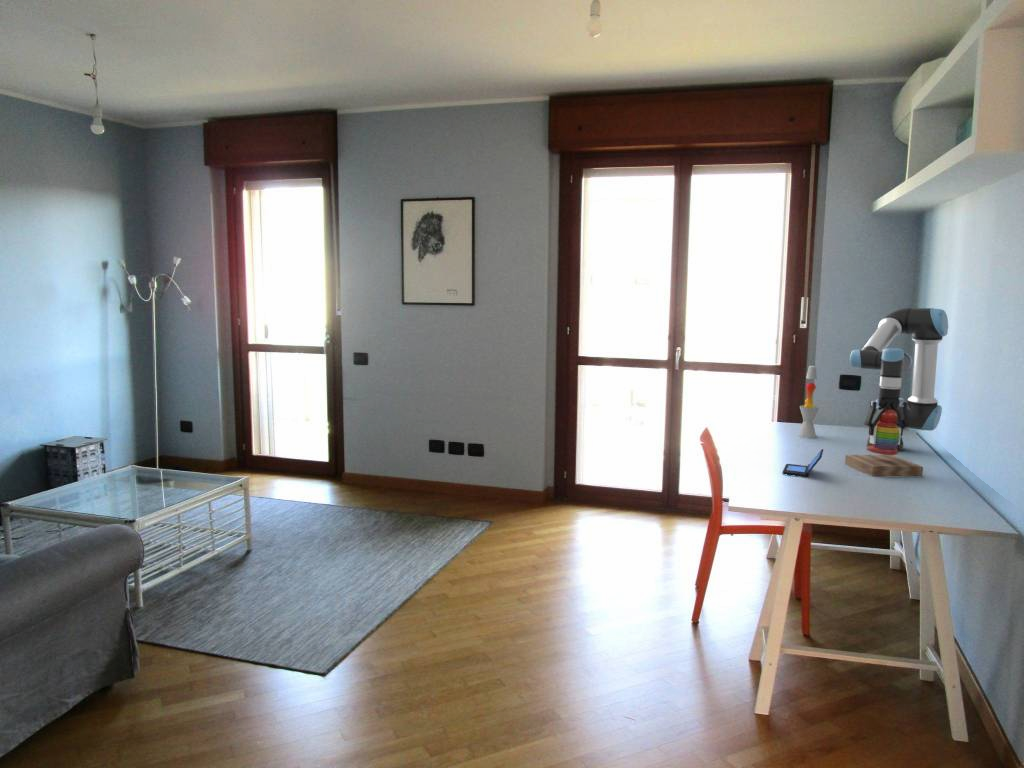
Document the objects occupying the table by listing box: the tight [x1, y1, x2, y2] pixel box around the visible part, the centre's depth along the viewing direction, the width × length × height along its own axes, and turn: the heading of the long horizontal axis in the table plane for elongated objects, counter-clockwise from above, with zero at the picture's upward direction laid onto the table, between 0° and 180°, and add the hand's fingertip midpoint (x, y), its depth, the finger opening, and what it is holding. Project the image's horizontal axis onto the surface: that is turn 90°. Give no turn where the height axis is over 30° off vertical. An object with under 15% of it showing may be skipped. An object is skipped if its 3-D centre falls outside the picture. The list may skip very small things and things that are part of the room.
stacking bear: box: [866, 409, 899, 456], centre depth 281 cm, size 11×10×18 cm
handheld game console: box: [782, 448, 824, 478], centre depth 276 cm, size 16×13×9 cm
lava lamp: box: [797, 365, 820, 439], centre depth 349 cm, size 9×9×35 cm
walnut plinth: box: [844, 454, 924, 477], centre depth 283 cm, size 20×20×4 cm
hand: (884, 443), depth 282 cm, fingers closed on stacking bear, 9 cm apart
